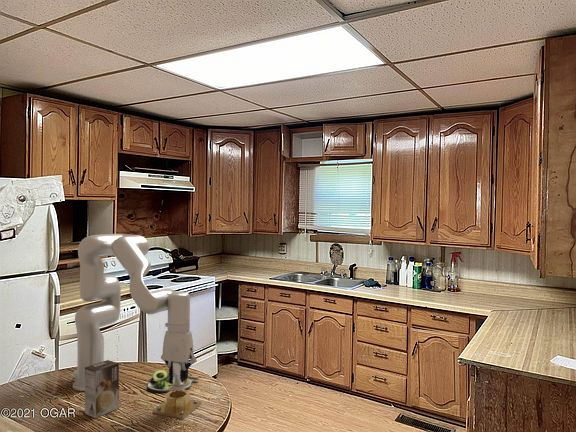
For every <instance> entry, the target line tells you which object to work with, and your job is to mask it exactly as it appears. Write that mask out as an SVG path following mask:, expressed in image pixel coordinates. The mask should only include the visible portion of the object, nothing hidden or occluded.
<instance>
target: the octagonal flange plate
mask: <svg viewBox="0 0 576 432" xmlns="http://www.w3.org/2000/svg"><path fill="white" fill-rule="evenodd" d="M164 395H165V397H164V399H165V401H164V402H162V403H161V404H159V405H158V406H156V407H155V408H154V409H152V414H156V415H161V416H164V417H165V416H166V417H171V418H175V419H181V420H184V419H185V418H186V417H188V416H189V415H190V414H191V413H192V412H193V411H196V409H197V408H198V407H200V406H201V405H202V401H201V400H198V399H191V393H190V391H189V390H188V389H185V390H184V391H182V392H173V391H170V392H166V393H165V394H164Z"/></svg>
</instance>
